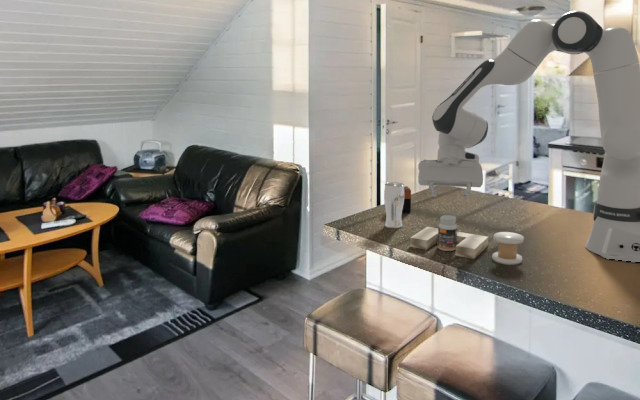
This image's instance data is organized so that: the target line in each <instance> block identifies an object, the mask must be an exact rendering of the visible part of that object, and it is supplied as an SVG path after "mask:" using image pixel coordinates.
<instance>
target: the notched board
mask: <svg viewBox="0 0 640 400" xmlns="http://www.w3.org/2000/svg"><path fill="white" fill-rule="evenodd" d="M409 241H410V242H409V243H410V244H409V247H410V248H415V249H420V250H424V251H427V250H429V249H430V248H431V247H433V246H434V245H436V244H437V242H438V227H432V226H426V227H424V228H423V229H421V230H419V231H418V232H417V233H415V234H414V235H412V236H410V240H409ZM487 247H489V236H485V235H480V234H474V233H467V232H462V231H457V245H456V249H455V256H456V257H463V258H466V259H467V258H468V259H471V260H475V259H476V258H477V257H478V256H479V255H480V254H481V253H483V252H484V251H485V249H486V248H487Z"/></svg>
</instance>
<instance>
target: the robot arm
mask: <svg viewBox="0 0 640 400" xmlns="http://www.w3.org/2000/svg"><path fill="white" fill-rule="evenodd" d="M554 51H557V52H560V53H565V54H568V55H580V54H583V53H585V55H587V56H588V58H589V59H590V63H591V67H592V73H593V79H594V85H595V86H594V87H595V91H596V97H597V102H598V118H599V119H598V121H599V128H600V129H599V130H600V131H599V132H600V137H601V145H602V148H603V150H604V156H603V161H602V166H601V171H600V176H599V182H598V184H599V185H598V192H597V200H596V201H595V202H594V208H593V216H592V217H593V219H592V220H593V224H592V227H591V231H590V235H589V237H588V239H587V242H586V243H585V248H586V250H588V251H590V252H591V253H594V254H597V255H599V256H601V257H602V258H604V259H605V258H606V260H609V259H615V260H614V261H618V260H622V261H621V262H626V261H631V262H630V263H635V262H640V60H639V55H638V51H637V48H636V45H635V43H634V40H633V37H632V34H631V33H630V31H629V30H628V29H626V28H624V27H618V26H617V27H609V28H605V29H604V28H603V27H602V26H601V25H600V24H599V23H598V22H597V21H596V20H595V19H594V18H593V17H592V16H591V15H590V13H589V14H588V13H587V12H585V11H582V10H572V11H568V12H566V13H564V14H562V15H561V16H560V17H559V18H558V19H557V20H556V21H555V23H554V24H551V23H549V22H546V21H544V20H542V19H532V20H530V21H528V22H527V23H526V24H524V26H523V27H522V28H521V29H520V30H519V31H518V32H517V33H516V34H515V36H514V37H512V39H511V40H510V41H509V43H508V44H507V45H506V47H505V49H504V50H503V51H501V53H499V54H497V56H495V57H494V58H492V59H487V60H485V61H483V62H482V63H480V64H479V65H478V66H477V67H476V68H475V69H474V70H473V71H472V72H471V73H470V74H469V75H468V76H467V77H466V78H465V79H464V80H463V81H462V83H460V85H459V86H458V87H456V89H455V90H454V91H453V92H452V93H451V94H450V95H449V96H448V97H446V99H445V100H444V101H442V102H440V104H439V105H437V107H436V108H435V109H434V111H433V114H432V117H431V120H432V124H433V127H434V129H435V130H436V131H437V132H439V133H438V143H437V144H438V149H437V150H438V151H437V156H436V157H437V158H436V159H423V160H422V161H419V162H418V165H417V167H418V170H419V172H418V176H417V177H418V178H417V179H418V180H417V182H418V184H419V185H420V186H428V189H429V191H430V192H431V197H437V194H438V190H437V189H434V187H454V188H455V187H459V188H460V187H461V188H462V187H463V188H466V189H465V190H462V198H463V199H466V198H468V194H469V192H470V191H472V190H471V189H472V188H481V187H482V186H483V184H484V173H483V172H484V171H483V167H482V165H481V163H480V157H479V155H478V154H477V153H472V152H469V151H466V149H470V148H473V147H476V146H478V145H479V144H481V143H482V142H483V141H484V140H485V139H486V137H487V135H488V132H489V124H488V121H487V119H486V118H484V117H483V116H481V115H480V114H478V113H475V112H473V111H471V110H469V109H467V108H465V107H464V106H465V105H466V104H468V102H469V101H470V100H471V99H472V97H474V95H475V94H476V93H477V92H478V91H479V90H480V89H482V88H483V87H486V86H490V85H503V86H517V85H520V84H523V83H525V82H526V81H527V80H528V79H530V78H531V77H532V75H533V74H534V73H535V71H537V69H538V67H539V66H540V65H541V63H542V62H543V61H544V60H545V58H546V57H547V56H548V55H549V54H550V53H552V52H554Z"/></svg>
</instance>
